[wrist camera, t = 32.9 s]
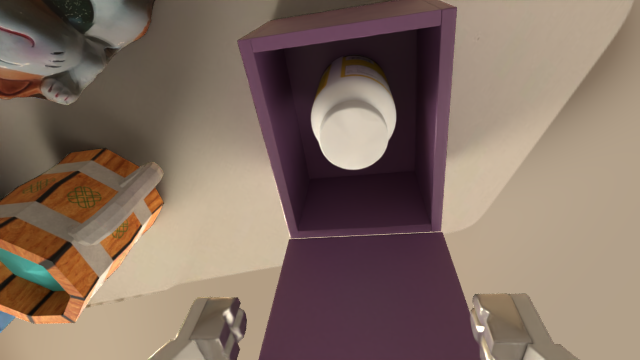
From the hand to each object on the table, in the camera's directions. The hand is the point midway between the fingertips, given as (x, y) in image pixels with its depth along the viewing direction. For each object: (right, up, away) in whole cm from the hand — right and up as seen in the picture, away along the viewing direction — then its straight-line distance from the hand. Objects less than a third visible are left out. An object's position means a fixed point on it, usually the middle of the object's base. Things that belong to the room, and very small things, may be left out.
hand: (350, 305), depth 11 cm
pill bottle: (+2, +14, +20) cm, 24 cm away
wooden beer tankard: (-26, +4, +30) cm, 40 cm away
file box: (+3, +12, +22) cm, 25 cm away
